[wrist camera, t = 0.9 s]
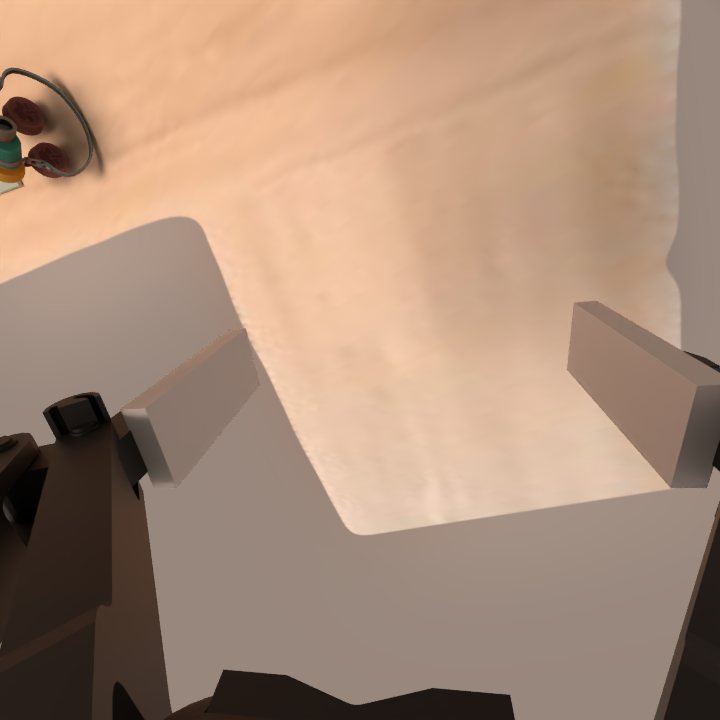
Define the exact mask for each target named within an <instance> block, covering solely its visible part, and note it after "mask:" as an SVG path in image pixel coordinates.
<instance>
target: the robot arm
mask: <svg viewBox="0 0 720 720" xmlns="http://www.w3.org/2000/svg"><path fill="white" fill-rule="evenodd" d="M567 370H568V371H569V373H570V374H571V375H572V376H573V377H574V378H575V379H576V380H577V382H578V383H579V384H580V385H581V386H582V387H583V388H584V390H585V391H586V392H587V393H588V394H589V395H590V396H591V398H592V399H593V400H594V401H595V402H596V403H597V404H598V406H599V407H600V408H601V409H602V410H603V411H604V412H605V414H606V415H607V416H608V417H609V418H610V419H611V420H612V422H613V423H614V424H615V425H616V426H617V427H618V428H619V430H620V431H621V432H622V433H623V434H624V435H625V436H626V437H627V439H628V440H629V441H630V442H631V443H632V444H633V445H634V447H635V448H636V449H637V450H638V451H639V452H640V453H641V455H642V456H643V457H644V458H645V459H646V460H647V461H648V463H649V464H650V465H651V466H652V467H653V468H654V469H655V471H656V472H657V473H658V474H659V475H660V476H661V477H662V479H663V480H664V481H665V482H666V483H667V484H668V485H669V487H670V488H707V486H708V483H709V480H710V476H711V473H712V470H713V467H716V468H717V469H718V470H719V471H720V366H719V365H717V364H715V363H713V362H711V361H710V360H708V359H706V358H704V357H701V356H698V355H695V354H691V353H689V352H686V351H682V350H680V349H678V348H676V347H675V346H673V345H671V344H670V343H668V342H666V341H664V340H663V339H661V338H659V337H657V336H656V335H654V334H652V333H651V332H649V331H647V330H645V329H644V328H642V327H640V326H639V325H637V324H635V323H633V322H632V321H630V320H628V319H627V318H625V317H623V316H621V315H620V314H618V313H616V312H614V311H613V310H611V309H609V308H608V307H606V306H604V305H602V304H601V303H599V302H597V301H591V302H578V303H574V308H573V318H572V327H571V337H570V346H569V355H568V365H567ZM259 386H260V383H259V379H258V375H257V371H256V367H255V363H254V359H253V356H252V351H251V347H250V343H249V340H248V336H247V332H246V328H244V329H232V330H228V331H227V332H225V333H224V334H223V335H221V336H220V337H219V338H217V339H216V340H214V341H213V342H212V343H210V344H209V345H208V346H206V347H205V348H204V349H202V350H201V351H200V352H198V353H197V354H195V355H194V356H193V357H192V358H190V359H189V360H187V361H186V362H185V363H183V364H182V365H180V366H179V367H178V368H176V369H175V370H173V371H172V372H171V373H169V374H168V375H167V376H165V377H164V378H163V379H161V380H160V381H159V382H157V383H156V384H154V385H153V386H152V387H150V388H149V389H148V390H146V391H145V392H143V393H142V394H141V395H140V396H138V397H137V398H135V399H134V400H133V401H131V402H130V403H129V404H127V405H126V406H124V407H123V408H122V409H121V411H120V412H119V413H117V414H116V415H115V416H113V417H112V418H110V416H109V414H108V412H107V409H106V407H105V405H104V403H103V401H102V398H101V396H100V394H99V393H95V392H90V393H82V394H78V395H74V396H71V397H68V398H66V399H63V400H61V401H58V402H57V403H54V404H52V405H51V406H49V407H48V408H46V409H45V410H44V412H43V415H44V416H45V418H46V420H47V422H48V424H49V426H50V428H51V430H52V432H53V434H54V435H55V437H56V442H55V443H54V444H49V445H44V446H40V447H38V446H37V444H36V442H35V440H34V438H33V437H32V435H31V434H30V433H19V434H14V435H10V436H3V437H0V644H1V642H2V644H1V648H0V720H515V718H514V713H513V707H512V702H511V697H510V695H505V694H493V693H482V692H471V691H459V690H448V689H437V688H431V689H427V690H423V691H419V692H414V693H410V694H406V695H401V696H397V697H393V698H388V699H384V700H379V701H375V702H371V703H367V704H362V705H352V704H349V703H346V702H344V701H342V700H340V699H338V698H335V697H333V696H331V695H329V694H327V693H324V692H322V691H320V690H318V689H316V688H313V687H311V686H309V685H307V684H305V683H303V682H301V681H298V680H296V679H294V678H291V677H290V676H287V675H277V674H267V673H255V672H243V671H232V670H223V672H222V675H221V677H220V680H219V682H218V685H217V687H216V690H215V692H214V695H213V696H211V697H208V698H205V699H203V700H200V701H197V702H195V703H192V704H190V705H188V706H186V707H184V708H182V709H180V710H178V711H176V712H174V713H172V711H171V706H170V699H169V693H168V685H167V676H166V668H165V661H164V653H163V645H162V637H161V629H160V621H159V614H158V606H157V597H156V589H155V581H154V574H153V566H152V558H151V550H150V543H149V534H148V527H147V518H146V511H145V502H144V494H143V490H142V488H141V485H140V483H139V480H140V479H141V478H142V477H143V476H144V475H145V474H146V473H148V475H149V477H150V480H151V482H152V484H153V486H154V488H177V487H178V486H179V485H180V484H181V482H182V481H183V480H184V478H185V477H186V476H187V475H188V473H189V472H190V471H191V470H192V469H193V468H194V466H195V465H196V464H197V463H198V461H199V460H200V459H201V458H202V456H203V455H204V454H205V453H206V451H207V450H208V449H209V448H210V446H211V445H212V444H213V443H214V441H215V440H216V439H217V438H218V436H219V435H220V434H221V433H222V432H223V430H224V429H225V428H226V427H227V425H228V424H229V423H230V422H231V420H232V419H233V418H234V417H235V415H236V414H237V413H238V412H239V410H240V409H241V408H242V407H243V405H244V404H245V403H246V402H247V401H248V399H249V398H250V397H251V395H252V394H253V393H254V392H255V390H256V389H257V388H258V387H259ZM654 720H720V502H719V505H718V508H717V511H716V514H715V520H714V523H713V526H712V529H711V533H710V536H709V540H708V543H707V546H706V549H705V553H704V556H703V559H702V563H701V566H700V569H699V573H698V576H697V579H696V582H695V586H694V589H693V592H692V596H691V599H690V602H689V606H688V609H687V612H686V615H685V619H684V622H683V626H682V629H681V632H680V635H679V639H678V642H677V645H676V649H675V652H674V655H673V659H672V662H671V665H670V668H669V672H668V675H667V678H666V682H665V685H664V688H663V692H662V695H661V698H660V702H659V705H658V708H657V712H656V715H655V718H654Z"/></svg>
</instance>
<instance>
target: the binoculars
mask: <svg viewBox="0 0 720 720" xmlns="http://www.w3.org/2000/svg"><path fill="white" fill-rule="evenodd" d="M12 73H15V74H21V75H24V76H27V77H30V78H32V79H35V80H37V81H39V82H41V83H43V84H45V85H46V86H48V87H49V88H51V89H53V90H54V91H55V92H56V93H57V94H59V95H60V96H61V97H62V98H63V99H64V100H65V102H66V103H67V104H68V105H69V106H70V107H71V109H72V110H73V111H74V113H75V114H76V116H77V117H78V119H79V121H80V122H81V124H82V126H83V128H84V131H85V133H86V136H87V140H88V144H89V158H88V161H87V162H86V164H85V165H84V166H83V167H82V168H81V169H79V170H77V171H76V172H73V173H65V172H66V168H67V164H68V160H67V157H66V155H65V154H64V152H63V151H62V150H61V149H60V148H58V147H57V146H55V145H53V144H50V143H39V144H37V145H36V146H35V147H33V148H32V149H31V150H30V151H29V153H28V157H24V158H22V153H21V142H20V140H19V138H18V137H17V135H16V131H18V132H20V133H22V134H25V135H31V136H33V135H38V134H39V133H41V132H42V130H43V124H44V116H43V113H42V111H41V110H40V108H39V107H38V106H37V105H36V104H35V103H33V102H32V101H30V100H28V99H26V98H23V97H13V98H11V99H9V101H8V102H7V103H6V104H5V105H4V106H3V109H2V114H3V116H0V181H1V182H5V183H16V182H19V181H21V180H22V179H23V177H24V175H25V167H29V166H32V167H33V168H34V169H35V170H36V171H37V172H39V173H40V174H42V175H44V176H47V177H50V178H58V177H61V176H65V177H71V176H75V175H77V174H79V173H80V172H82V171H83V170H84V169H85V168H86V166H87V165H88V164H89V162H90V160H91V157H92V152H93V148H92V141H91V137H90V134H89V131H88V128H87V126H86V123H85V121H84V120H83V118H82V116H81V114H80V113H79V111H78V110H77V109H76V107H75V106H74V105H73V103H72V102H71V101H70V100H69V99H68V97H67V96H66V95H65V94H64V93H63V92H62V91H61V90H60V89H58V88H57V87H56V86H55V85H53V84H52V83H50V82H49V81H47V80H46V79H44V78H42V77H40V76H38V75H36V74H33V73H31V72H29V71H26V70H22V69H19V68H8V69H6V70H5V71H4V72H3V74H2V77H0V91H1V89H2V88H3V83H4V79H5V77H6V76H7V75H9V74H12Z"/></svg>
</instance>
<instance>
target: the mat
mask: <svg viewBox="0 0 720 720" xmlns="http://www.w3.org/2000/svg"><path fill="white" fill-rule="evenodd" d="M21 186H23V184H22V183H21V181H19V182H16V183H5V182H1V181H0V194H3V193H5V192H8V191H11V190H13V189H16V188H19V187H21Z"/></svg>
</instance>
